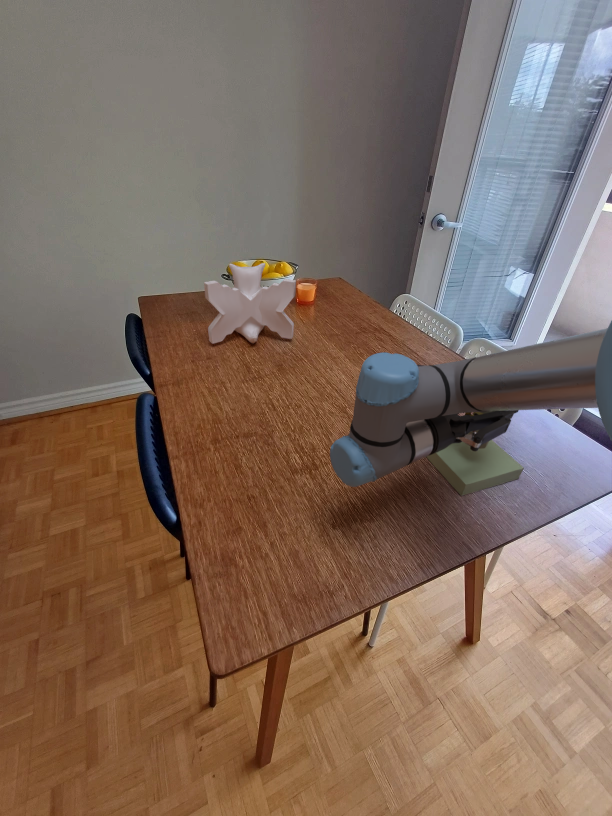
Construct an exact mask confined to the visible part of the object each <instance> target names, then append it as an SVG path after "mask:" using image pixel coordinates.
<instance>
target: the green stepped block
mask: <svg viewBox="0 0 612 816" xmlns="http://www.w3.org/2000/svg"><path fill="white" fill-rule="evenodd" d="M426 459H427V460H428V461H429V462H430V463H431V464H432V466H434V468H435V469H436V470H437V471H438V472H439V473H440V474H441V476H442V477H443V478H445V480H446V481H447V482H448V483H449V484H450V486H452V487H453V489H454V490H455V491H456V492H457V493H458V494H459V495H460V496H461V497H463V496H466V495H470V494H473V493H476V492H479V491H482V490H486V489H489V488H493V487H496V486H500V485H503V484H506V483H509V482H513V481H516V480H519V479H520V477H521V475H522V473H523V471H524V469H525V467H524V466H522V465H521V464H520V463H519V462H518V461H517V460H515V458H514V457H512V455H510V454H509V453H508V452H506V451H505V450H504V449H503V448H502V447H501V446H499V444H497V443H496V442H495V441H494V439H492V440H490V441H489V443H488V444H487V446H486V448H483V449H478V451H472V450H471V449H470V446H468V445H467V444H465V443H464V442H461V443H453V444H451V445H449V446H448V447H447V448H445V449H443V450H441V451H439V452H437V453H434V454H432V455H429V456H427V457H426Z"/></svg>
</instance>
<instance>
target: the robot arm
mask: <svg viewBox="0 0 612 816" xmlns="http://www.w3.org/2000/svg"><path fill="white" fill-rule="evenodd" d="M417 365H418V364H417V363H416V362H415V361H414V360H413V359H412V358H410V357H408V356H406V355H404V354H400V353H396V352H395V353H390V352H386V351H384V352H377V353H373V354H371V355H369V356H368V357H367V358H366V359H365V360H364V361H363V363H362V365H361V368H360V372H359V374H358V379H357V383H356V386H355V399H354V407H353V415H352V419H351V422H350V426H349V433H348V434H347V435H342V436H341V437H340V438H338V439H335V441H334V442H333V443H332V444H331V446H330V449H329V460H330V463H331V466H332V470H333V471H334V473H335V475H336V476H337V477H338V479H339V480H340V481H341V482H342V483H343V484H344V485H346V486H348V487H351V488H357V487H360V486H363V485H366V484H368V483H373V482H376V481H377V480H379V479H382V478H383V477H385V476H388V475H389V474H392V473H394V472H396V471H399V470H400V469H402V468H405V467H406V466H409V465H411V464H414V463H415V462H418V461H420V460H422V459H425V458H427V456H429V455H432V454H434V453H437V452H439V451H441V450H443V449H445V448H447V447H448V446H449V445H451V444H453V443H461V442H464V443H467V444H469V445H471V447H470V449H471V450H472V451H478V449H479V447H480V446H481V445H482V444H484V443H486V442H488V441H490V440H494V439H496V438H498V437H500V436H502V435H504V434H506V433H507V431H508V429H509V426H510V424H511V422H512V419H513V418H514V414H517V413H518V412H519V411H536V410H539V411H540V410H541V411H543V410H570V409H571V410H573V409H576V410H577V409H598V413H599V417H600V420H601V422H602V425H603V427H604V429H605V432H606V433H607V435H608V438H609V440H610V442H612V320H610V323H609V325H608V326H607V327H606V328H602V329H597V330H593V331H588V332H583V333H580V334H575V335H571V336H566V337H562V338H557V339H554V340H548V341H543V342H539V343H536V344H530V345H525V346H522V347H521V346H520V347H516V348H511V349H507V350H502V351H498V352H494V353H490V354H486V355H480V356H475V357H471V358H466V359H465V358H464V359H462V360H456V361H451V362H444V363H438V364H429V365H427V364H426V366H419V367H418V366H417ZM487 411H495V412H490V413H485V414H480V415H475V416H470V415H465V413H467V412H471V413H473V412H487ZM459 414H463V415H459ZM476 430H479V431H478V432H475V431H476ZM471 431H474V432H473V434H470V435H467V434H468V433H469V432H471Z"/></svg>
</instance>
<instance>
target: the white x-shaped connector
mask: <svg viewBox="0 0 612 816" xmlns="http://www.w3.org/2000/svg"><path fill="white" fill-rule="evenodd" d="M228 267H229V269H230V271H231V274H232V281H233V287H231V286H229V285H227V284H226V283H225V284H221V283H219V282H218V281H217V280H210V281H204V282H203V286H204V287H203V288H204V298H205V300H206V301H208V303H210V305H211V306H213V307H214V308H215V310H216V311H217V312H219V313H218V314H217V315H216V316H215V318H214V319H213V320H212V321H211V323H210V324H209V325H208V326H207V331H208V341H209V342H210V343H211V344H212V345H213V344H217V343H220V342H223V341H224V339H225V338H226V337H227V336H228V335H232V334H233V332H236V333H238V334H240V335H241V336H243V337H244V338H245V339H246V340H247V341H248V342H249V343H251V344H255V343H257V342H258V339H259V335H260V333H261V331H262V330H263V329H264V328H265V326H266V327H267V328H268V329H269V330H270V331H271V332H274V333H275V332H276V333H277V334H278V335H279V336H280V338H283V339H289V340H292V339H293V338H294V330H295V329H294V328H295V327H294V326H295V323H294V321H292V319H291V318H290V317H289V316H288V315H287V313H286V312H285V311H284V310H285V309H286V308H287V306H288V305H289V304H290V303H291V301H292V300H293V299H294V297H296V287H297V286H296V285H297V280H295V279H288V278H284V279H283V280H282V281H281V282H280V283H277V282H273V284H271V285H270V286H264V285H263V286H261V282H262V274H263V272H264V269H265V267H266V263H265V262H263V263H262V262H261V263H260V264H258V265H256V266H239V265H235V264H234V263H228Z"/></svg>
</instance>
